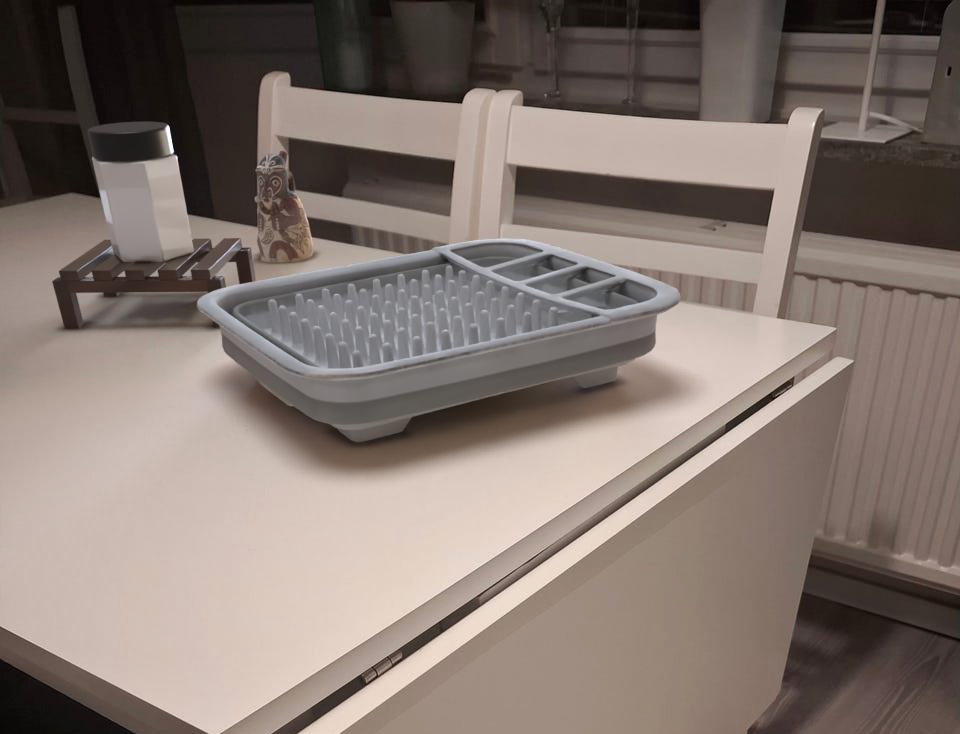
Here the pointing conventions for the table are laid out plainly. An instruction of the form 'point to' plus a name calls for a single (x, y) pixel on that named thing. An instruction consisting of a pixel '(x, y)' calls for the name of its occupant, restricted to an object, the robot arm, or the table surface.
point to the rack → (148, 274)
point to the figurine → (280, 214)
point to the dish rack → (436, 329)
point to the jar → (141, 191)
